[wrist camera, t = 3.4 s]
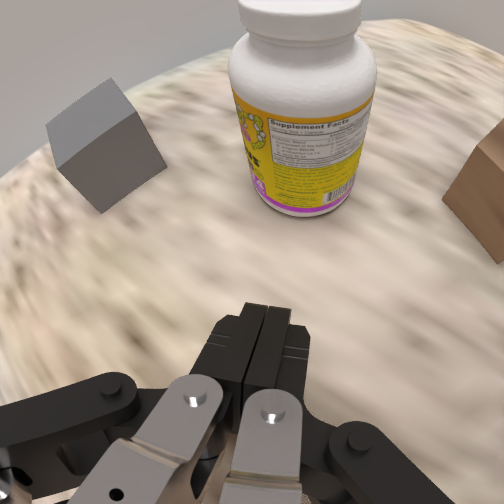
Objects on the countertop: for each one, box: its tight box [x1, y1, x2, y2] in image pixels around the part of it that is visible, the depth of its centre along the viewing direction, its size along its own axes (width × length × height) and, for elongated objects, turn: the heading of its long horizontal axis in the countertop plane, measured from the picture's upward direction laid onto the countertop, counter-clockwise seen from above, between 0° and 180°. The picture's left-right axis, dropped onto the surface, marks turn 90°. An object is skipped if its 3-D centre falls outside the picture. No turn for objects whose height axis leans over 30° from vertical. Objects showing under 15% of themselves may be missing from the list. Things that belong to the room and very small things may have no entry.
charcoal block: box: [46, 78, 167, 214], centre depth 20 cm, size 6×6×6 cm
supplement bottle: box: [228, 0, 377, 217], centre depth 15 cm, size 7×7×13 cm
